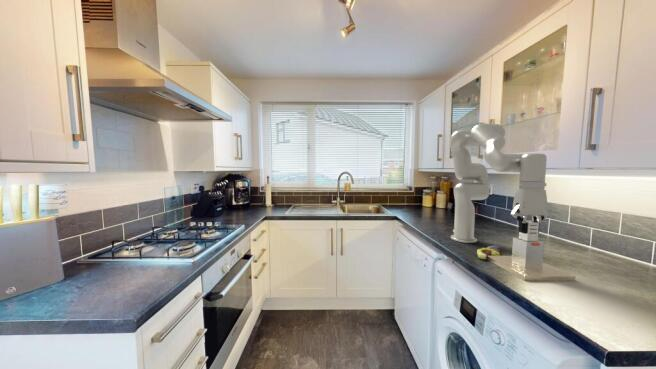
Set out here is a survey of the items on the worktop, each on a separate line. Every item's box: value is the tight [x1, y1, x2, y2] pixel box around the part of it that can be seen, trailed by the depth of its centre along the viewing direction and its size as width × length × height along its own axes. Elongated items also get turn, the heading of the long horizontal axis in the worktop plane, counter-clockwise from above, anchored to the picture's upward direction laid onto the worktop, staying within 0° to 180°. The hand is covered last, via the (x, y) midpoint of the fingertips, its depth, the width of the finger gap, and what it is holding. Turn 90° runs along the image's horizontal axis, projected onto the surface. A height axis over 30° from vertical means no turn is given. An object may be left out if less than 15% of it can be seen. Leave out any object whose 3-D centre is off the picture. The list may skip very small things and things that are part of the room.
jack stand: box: [486, 237, 576, 282], centre depth 94 cm, size 20×18×12 cm
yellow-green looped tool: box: [476, 245, 507, 260], centre depth 111 cm, size 8×3×25 cm
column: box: [518, 220, 540, 242], centre depth 93 cm, size 4×4×15 cm
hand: (528, 232), depth 93 cm, fingers closed on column, 4 cm apart
